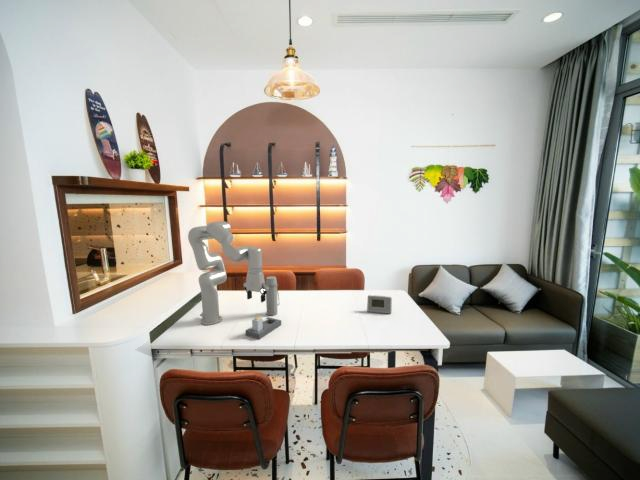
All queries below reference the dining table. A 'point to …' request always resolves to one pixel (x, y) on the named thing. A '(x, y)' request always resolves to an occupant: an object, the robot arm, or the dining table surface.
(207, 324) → the robot arm
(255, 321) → the plug
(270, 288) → the water bottle
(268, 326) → the panel
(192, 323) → the dining table surface
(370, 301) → the digital clock
